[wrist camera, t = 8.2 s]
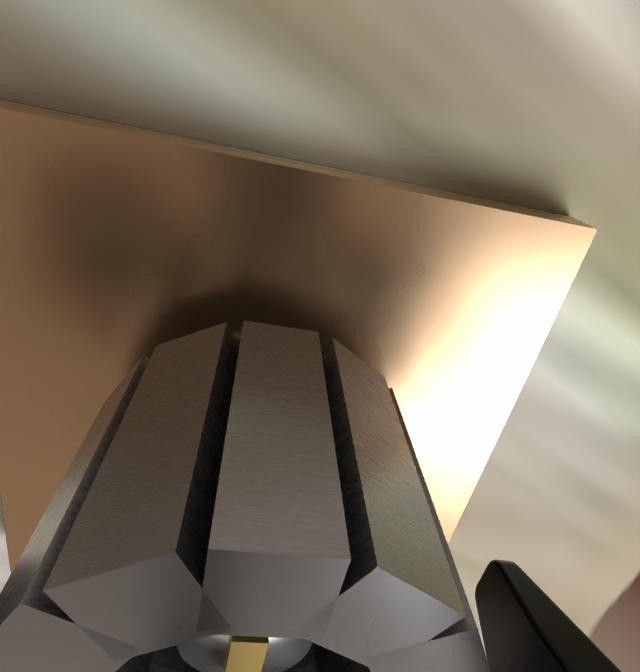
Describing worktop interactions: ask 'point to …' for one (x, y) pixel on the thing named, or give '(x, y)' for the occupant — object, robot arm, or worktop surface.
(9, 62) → the worktop surface
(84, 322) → the shaft stand
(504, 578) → the robot arm
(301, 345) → the hub
